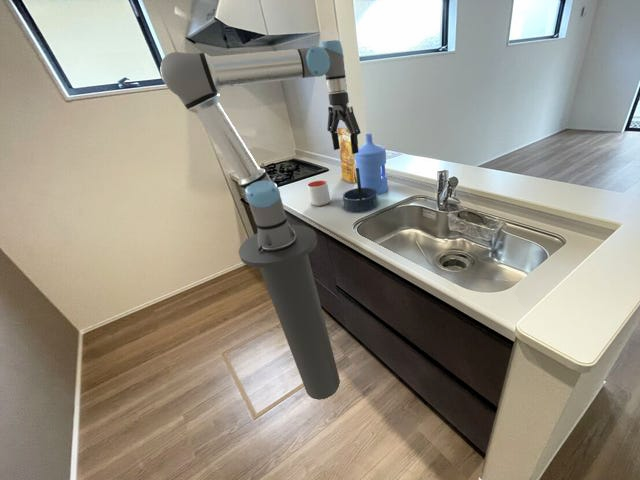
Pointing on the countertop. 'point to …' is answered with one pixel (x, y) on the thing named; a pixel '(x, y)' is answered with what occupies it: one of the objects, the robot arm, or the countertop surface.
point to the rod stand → (359, 184)
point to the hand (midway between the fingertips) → (345, 151)
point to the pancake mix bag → (346, 155)
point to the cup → (319, 193)
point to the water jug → (372, 166)
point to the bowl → (362, 204)
